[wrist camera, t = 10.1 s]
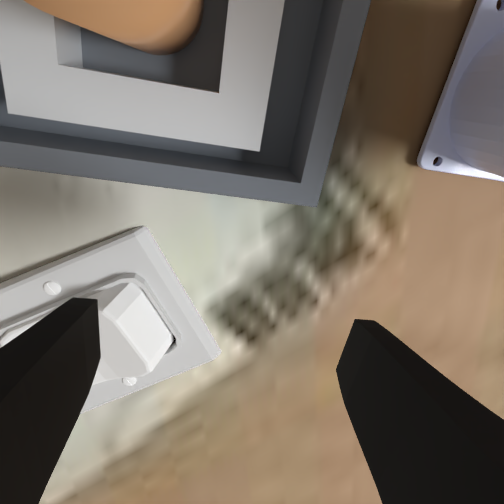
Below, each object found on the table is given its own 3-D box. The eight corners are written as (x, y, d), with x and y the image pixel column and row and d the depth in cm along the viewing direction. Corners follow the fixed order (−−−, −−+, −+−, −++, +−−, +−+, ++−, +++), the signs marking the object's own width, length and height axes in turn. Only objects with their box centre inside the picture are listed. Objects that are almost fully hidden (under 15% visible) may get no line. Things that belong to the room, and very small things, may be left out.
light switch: (226, 384, 21) (46, 456, 21) (222, 340, 25) (68, 402, 25) (138, 243, 16) (-93, 341, 17) (150, 215, 20) (-39, 296, 20)
